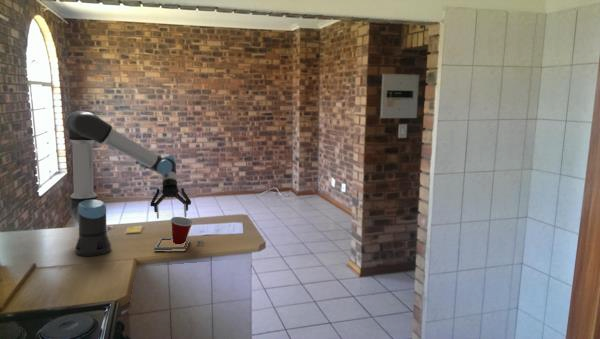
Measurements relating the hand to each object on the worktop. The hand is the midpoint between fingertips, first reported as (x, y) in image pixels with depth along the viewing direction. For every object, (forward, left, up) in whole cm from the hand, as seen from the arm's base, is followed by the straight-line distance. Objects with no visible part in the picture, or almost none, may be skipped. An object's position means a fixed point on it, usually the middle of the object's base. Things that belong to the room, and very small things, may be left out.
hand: (171, 216), depth 214 cm
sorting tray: (+2, -8, -13) cm, 15 cm away
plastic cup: (+4, -5, -12) cm, 14 cm away
